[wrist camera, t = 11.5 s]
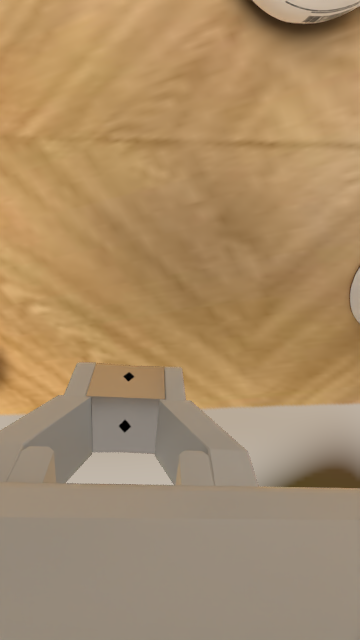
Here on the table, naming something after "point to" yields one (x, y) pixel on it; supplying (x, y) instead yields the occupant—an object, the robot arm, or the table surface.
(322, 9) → the milk container
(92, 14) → the table surface
